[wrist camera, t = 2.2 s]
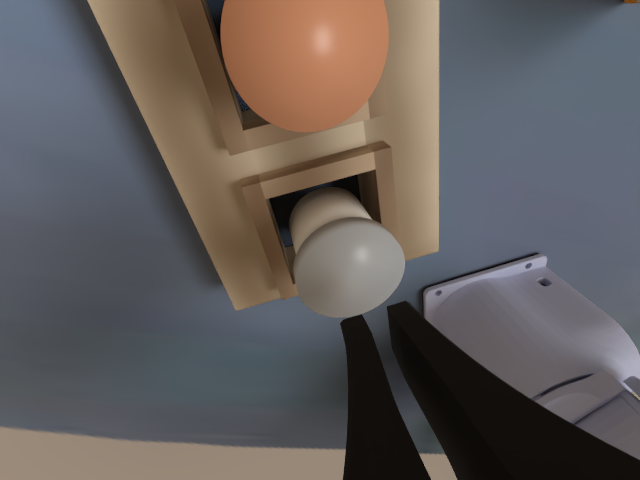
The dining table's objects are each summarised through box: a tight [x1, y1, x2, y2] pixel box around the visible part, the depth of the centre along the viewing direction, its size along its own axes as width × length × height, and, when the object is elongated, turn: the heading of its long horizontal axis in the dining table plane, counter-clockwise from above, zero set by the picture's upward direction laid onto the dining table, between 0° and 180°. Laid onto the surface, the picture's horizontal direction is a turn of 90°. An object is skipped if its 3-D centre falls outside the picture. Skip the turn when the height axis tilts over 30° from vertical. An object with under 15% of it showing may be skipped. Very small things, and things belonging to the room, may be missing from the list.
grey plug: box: [289, 187, 405, 318], centre depth 15 cm, size 4×4×4 cm
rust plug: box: [221, 0, 389, 132], centre depth 11 cm, size 4×4×4 cm
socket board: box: [87, 0, 439, 311], centre depth 15 cm, size 12×16×4 cm
